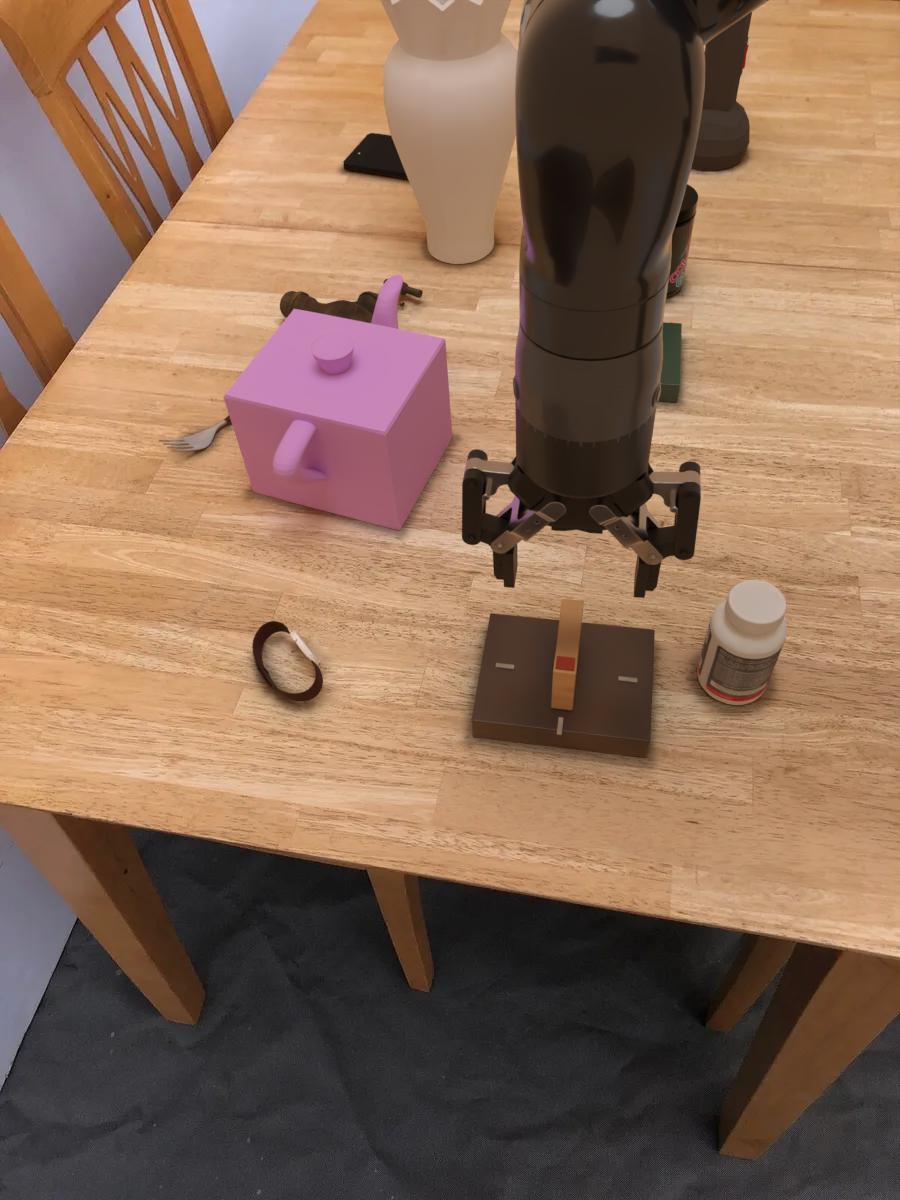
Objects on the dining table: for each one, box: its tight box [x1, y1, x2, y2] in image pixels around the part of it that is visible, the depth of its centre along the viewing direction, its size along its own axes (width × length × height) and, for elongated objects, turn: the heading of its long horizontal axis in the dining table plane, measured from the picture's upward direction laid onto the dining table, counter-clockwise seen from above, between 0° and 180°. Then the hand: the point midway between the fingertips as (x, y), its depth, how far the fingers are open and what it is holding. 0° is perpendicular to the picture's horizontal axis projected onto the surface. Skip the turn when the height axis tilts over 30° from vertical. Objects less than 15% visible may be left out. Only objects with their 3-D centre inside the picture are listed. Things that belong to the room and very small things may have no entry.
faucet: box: [279, 278, 424, 323], centre depth 100 cm, size 5×17×15 cm
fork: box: [158, 415, 231, 453], centre depth 93 cm, size 3×16×2 cm, turn 135°
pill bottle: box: [696, 579, 788, 706], centre depth 68 cm, size 5×5×10 cm
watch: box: [251, 620, 324, 703], centre depth 73 cm, size 8×5×4 cm, turn 35°
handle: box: [551, 598, 585, 710], centre depth 68 cm, size 6×2×5 cm, turn 170°
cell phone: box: [342, 132, 408, 180], centre depth 123 cm, size 9×18×1 cm, turn 68°
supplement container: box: [666, 183, 699, 299], centre depth 100 cm, size 7×7×10 cm
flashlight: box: [691, 11, 753, 172], centre depth 111 cm, size 10×25×10 cm
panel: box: [471, 612, 656, 758], centre depth 71 cm, size 13×11×3 cm
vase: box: [380, 0, 518, 265], centre depth 100 cm, size 15×15×29 cm
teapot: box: [223, 274, 453, 531], centre depth 84 cm, size 15×25×14 cm, turn 158°
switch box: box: [658, 321, 683, 403], centre depth 94 cm, size 12×10×4 cm
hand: (573, 582), depth 62 cm, fingers open, 8 cm apart
